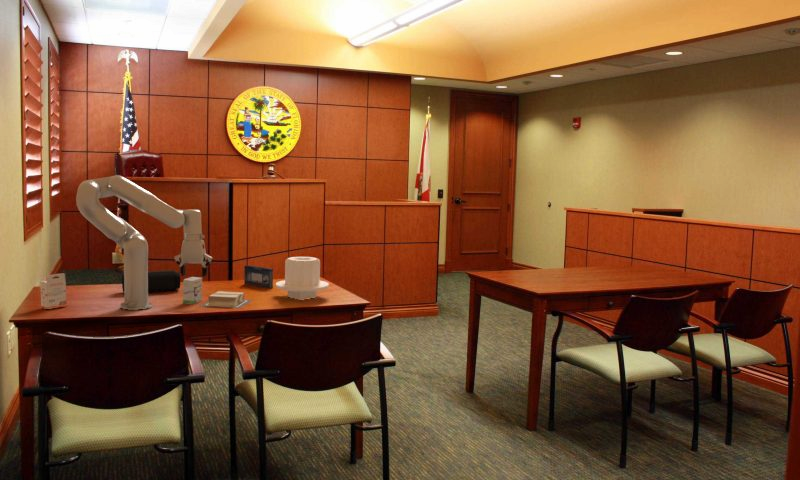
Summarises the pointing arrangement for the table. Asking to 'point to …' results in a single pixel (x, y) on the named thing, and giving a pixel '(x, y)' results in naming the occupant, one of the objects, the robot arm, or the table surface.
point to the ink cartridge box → (53, 290)
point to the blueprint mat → (228, 306)
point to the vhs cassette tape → (258, 276)
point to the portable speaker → (161, 281)
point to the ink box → (192, 290)
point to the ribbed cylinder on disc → (302, 278)
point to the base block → (226, 298)
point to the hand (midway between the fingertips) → (193, 275)
